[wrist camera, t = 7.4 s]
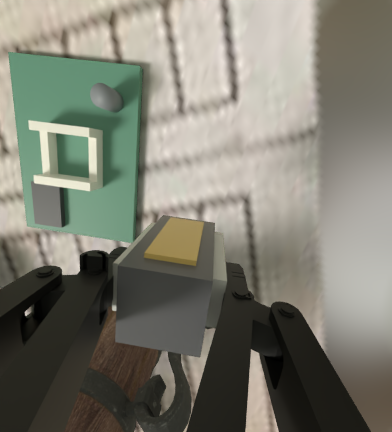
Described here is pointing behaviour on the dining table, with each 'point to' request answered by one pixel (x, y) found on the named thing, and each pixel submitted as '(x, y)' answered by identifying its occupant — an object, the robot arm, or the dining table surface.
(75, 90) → the board
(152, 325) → the plug
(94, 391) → the tankard
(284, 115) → the dining table surface
